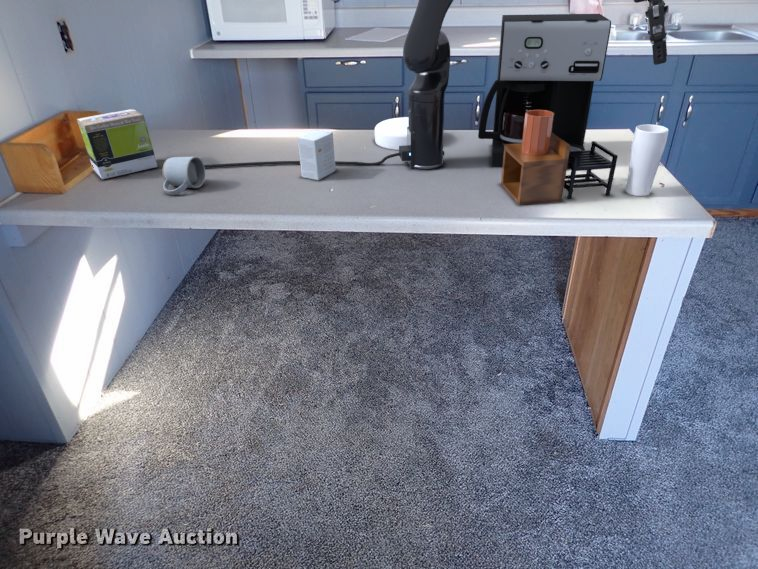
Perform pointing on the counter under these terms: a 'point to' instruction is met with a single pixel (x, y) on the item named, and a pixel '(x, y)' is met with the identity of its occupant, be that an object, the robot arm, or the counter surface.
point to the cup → (537, 132)
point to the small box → (316, 154)
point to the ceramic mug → (183, 173)
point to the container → (392, 133)
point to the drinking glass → (645, 158)
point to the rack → (589, 168)
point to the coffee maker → (545, 76)
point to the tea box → (117, 143)
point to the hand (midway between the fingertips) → (660, 61)
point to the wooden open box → (535, 173)
